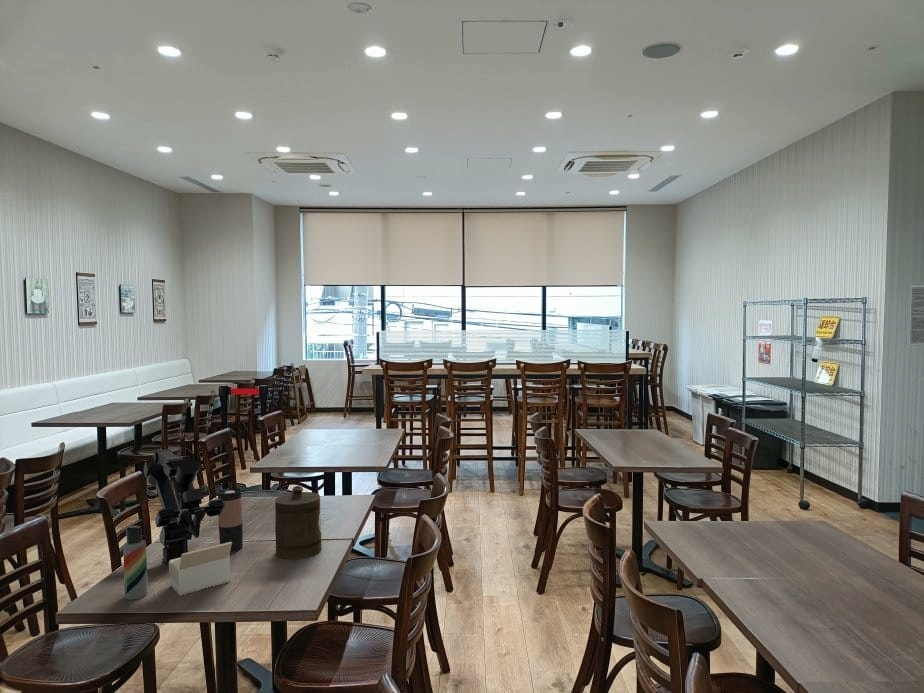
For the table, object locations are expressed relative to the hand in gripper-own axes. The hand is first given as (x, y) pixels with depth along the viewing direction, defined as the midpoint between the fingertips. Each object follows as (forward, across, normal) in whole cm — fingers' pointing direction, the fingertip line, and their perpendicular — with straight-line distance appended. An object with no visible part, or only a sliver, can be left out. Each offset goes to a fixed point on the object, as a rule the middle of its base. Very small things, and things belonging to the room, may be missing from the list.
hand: (197, 537), depth 179 cm
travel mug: (-5, +18, +24) cm, 30 cm away
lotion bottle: (+8, -16, +12) cm, 21 cm away
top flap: (+8, 0, -3) cm, 8 cm away
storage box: (+11, 0, +8) cm, 14 cm away
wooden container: (+8, +33, +11) cm, 36 cm away
